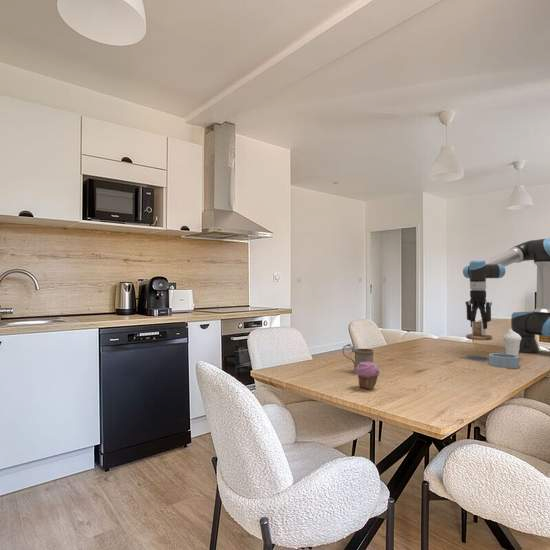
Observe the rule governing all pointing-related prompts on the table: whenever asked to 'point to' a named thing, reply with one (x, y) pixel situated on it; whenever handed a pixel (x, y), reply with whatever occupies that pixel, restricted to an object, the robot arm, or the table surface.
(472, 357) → the mat
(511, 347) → the soft serve ice cream cone
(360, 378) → the cupcake
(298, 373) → the table surface
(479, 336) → the lid
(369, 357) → the mug
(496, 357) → the bowl
